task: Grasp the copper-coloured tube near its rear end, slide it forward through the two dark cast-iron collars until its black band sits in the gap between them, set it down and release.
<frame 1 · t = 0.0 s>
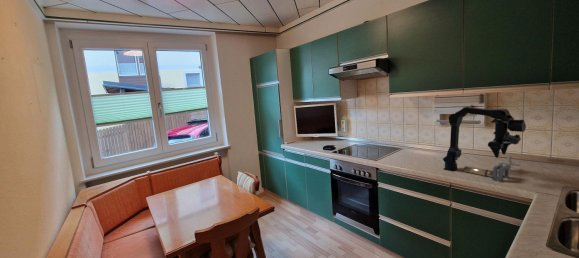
hand: (500, 156, 151), 15 cm above the worktop, fingers open, 9 cm apart
pipe connector: (508, 171, 165), on the worktop
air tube: (479, 174, 163), on the worktop
firebox collars: (500, 179, 153), on the worktop
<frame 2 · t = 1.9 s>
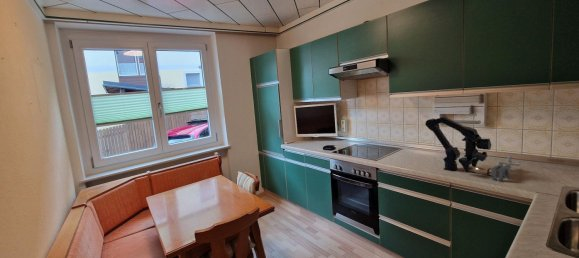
hand: (470, 170, 168), 2 cm above the worktop, fingers open, 9 cm apart
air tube: (479, 171, 163), point 2 cm above the worktop, tilted 81°, touching gripper
everything else where it was.
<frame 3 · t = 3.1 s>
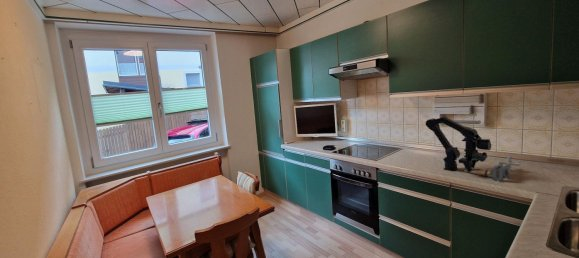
hand: (470, 171, 167), 1 cm above the worktop, fingers closed on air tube, 4 cm apart
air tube: (479, 174, 163), on the worktop, touching gripper
everything else where it was.
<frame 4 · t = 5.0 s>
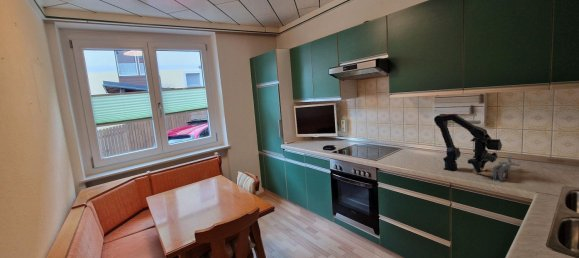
hand: (479, 172, 163), 2 cm above the worktop, fingers closed on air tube, 4 cm apart
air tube: (488, 176, 159), on the worktop, touching gripper
everything else where it was.
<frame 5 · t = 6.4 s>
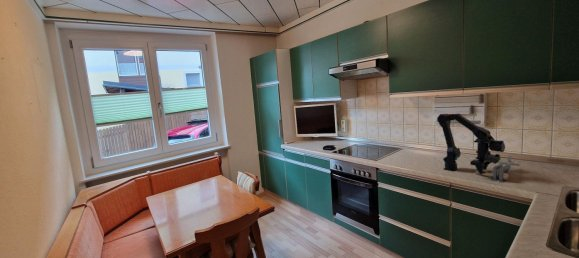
hand: (482, 173, 161), 1 cm above the worktop, fingers closed on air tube, 4 cm apart
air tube: (491, 177, 157), on the worktop, touching gripper
everything else where it was.
when the fingers open (1 cm above the worktop, at t = 7.0 s): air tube stays where it is, on the worktop.
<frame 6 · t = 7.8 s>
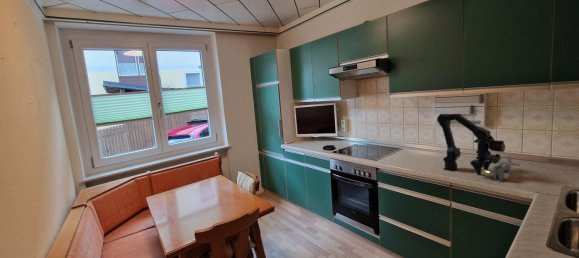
hand: (482, 173, 161), 1 cm above the worktop, fingers open, 9 cm apart
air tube: (491, 176, 157), on the worktop, tilted 23°
everything else where it was.
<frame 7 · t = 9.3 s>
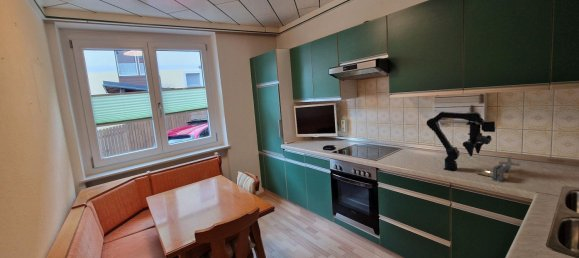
hand: (474, 154, 166), 12 cm above the worktop, fingers open, 9 cm apart
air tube: (491, 176, 157), on the worktop, tilted 27°, touching firebox collars
everything else where it was.
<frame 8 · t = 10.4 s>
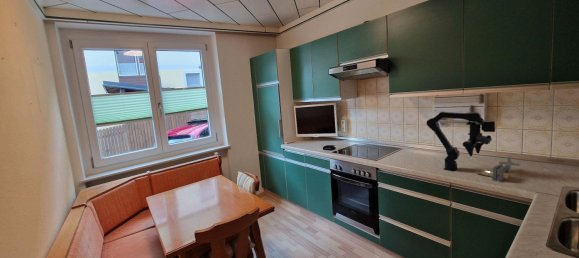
hand: (474, 154, 166), 12 cm above the worktop, fingers open, 9 cm apart
nothing on the worktop moved.
at the end: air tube 0.4 cm from the target spot, on the worktop; the gripper is holding nothing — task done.
